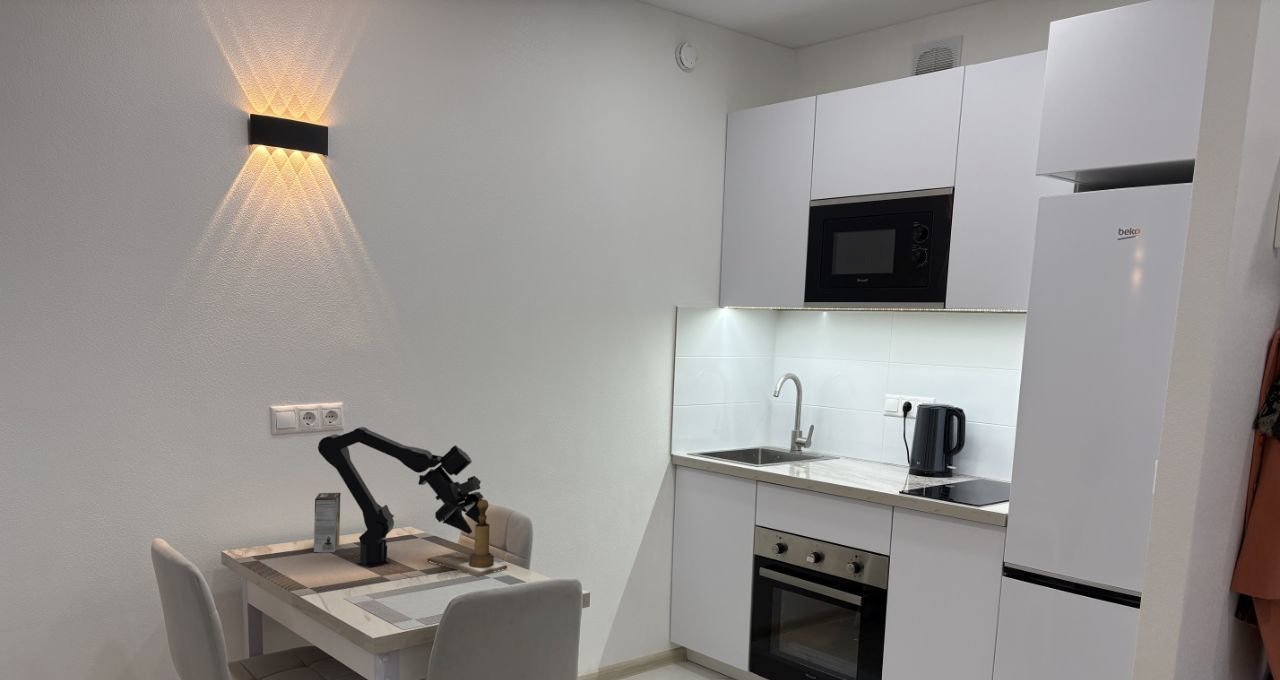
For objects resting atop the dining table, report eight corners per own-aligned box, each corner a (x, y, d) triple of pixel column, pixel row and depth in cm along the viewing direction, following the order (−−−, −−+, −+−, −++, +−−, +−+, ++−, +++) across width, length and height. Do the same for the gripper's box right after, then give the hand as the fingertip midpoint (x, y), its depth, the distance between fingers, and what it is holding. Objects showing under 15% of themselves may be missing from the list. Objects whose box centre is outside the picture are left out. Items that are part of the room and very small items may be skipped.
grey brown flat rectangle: (477, 576, 229) (477, 572, 229) (427, 561, 243) (427, 557, 243) (507, 569, 237) (507, 564, 237) (456, 555, 251) (456, 551, 251)
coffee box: (317, 545, 258) (318, 492, 258) (339, 545, 260) (341, 492, 260) (313, 553, 249) (314, 498, 250) (336, 552, 251) (337, 497, 251)
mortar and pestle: (473, 569, 232) (474, 502, 232) (466, 563, 238) (467, 498, 238) (496, 566, 235) (498, 501, 235) (489, 560, 241) (490, 497, 241)
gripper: (446, 472, 229) (483, 517, 226) (478, 463, 247) (512, 504, 244) (419, 499, 231) (455, 544, 228) (452, 488, 249) (485, 530, 246)
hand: (478, 529), depth 237 cm, fingers open, 9 cm apart
